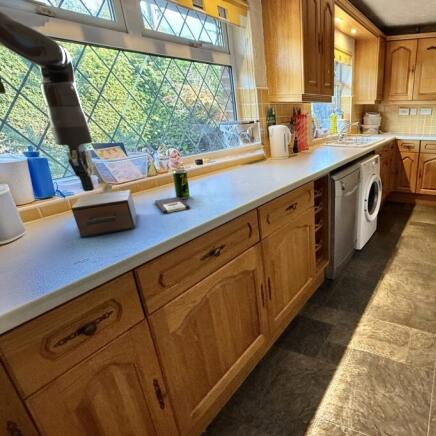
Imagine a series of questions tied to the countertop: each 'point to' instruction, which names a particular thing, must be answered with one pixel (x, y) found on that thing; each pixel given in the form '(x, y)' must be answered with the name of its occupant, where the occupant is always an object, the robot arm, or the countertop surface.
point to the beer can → (181, 183)
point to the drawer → (103, 218)
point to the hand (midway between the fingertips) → (89, 190)
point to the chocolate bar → (171, 204)
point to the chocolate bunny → (106, 188)
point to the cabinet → (105, 200)
